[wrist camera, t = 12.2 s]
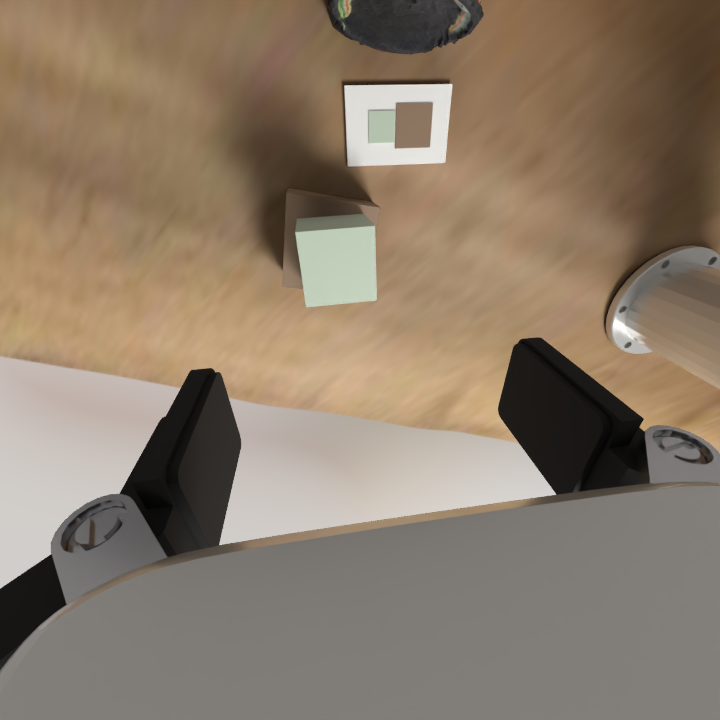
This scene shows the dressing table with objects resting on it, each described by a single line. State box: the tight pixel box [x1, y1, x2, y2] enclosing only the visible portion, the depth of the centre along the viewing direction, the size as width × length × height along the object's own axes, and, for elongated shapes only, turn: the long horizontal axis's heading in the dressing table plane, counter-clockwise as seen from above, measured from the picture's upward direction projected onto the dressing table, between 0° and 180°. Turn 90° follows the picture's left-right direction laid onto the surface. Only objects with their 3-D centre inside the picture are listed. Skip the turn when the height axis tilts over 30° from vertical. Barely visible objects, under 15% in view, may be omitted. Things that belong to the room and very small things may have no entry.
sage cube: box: [295, 214, 377, 307], centre depth 24 cm, size 5×5×5 cm
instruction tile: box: [344, 84, 452, 167], centre depth 25 cm, size 8×5×1 cm, turn 92°
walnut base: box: [282, 188, 381, 289], centre depth 28 cm, size 7×7×4 cm
